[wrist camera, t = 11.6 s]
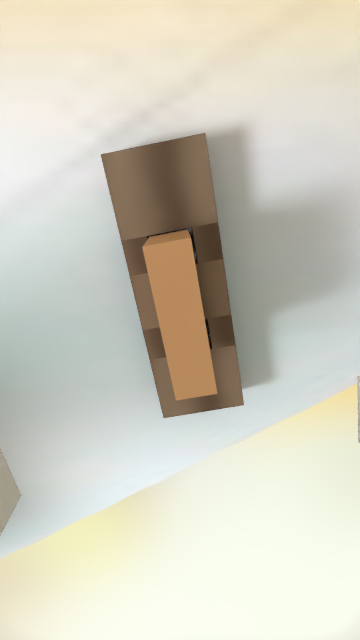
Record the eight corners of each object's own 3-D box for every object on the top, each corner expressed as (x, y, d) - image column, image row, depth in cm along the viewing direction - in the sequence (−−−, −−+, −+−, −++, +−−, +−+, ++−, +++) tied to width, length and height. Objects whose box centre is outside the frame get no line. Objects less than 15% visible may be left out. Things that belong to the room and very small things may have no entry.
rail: (164, 403, 36) (163, 418, 33) (107, 158, 28) (100, 154, 26) (239, 391, 35) (243, 405, 33) (202, 138, 27) (205, 133, 25)
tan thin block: (175, 344, 34) (175, 400, 24) (152, 232, 30) (142, 246, 20) (205, 339, 33) (217, 393, 24) (186, 225, 30) (190, 237, 20)
